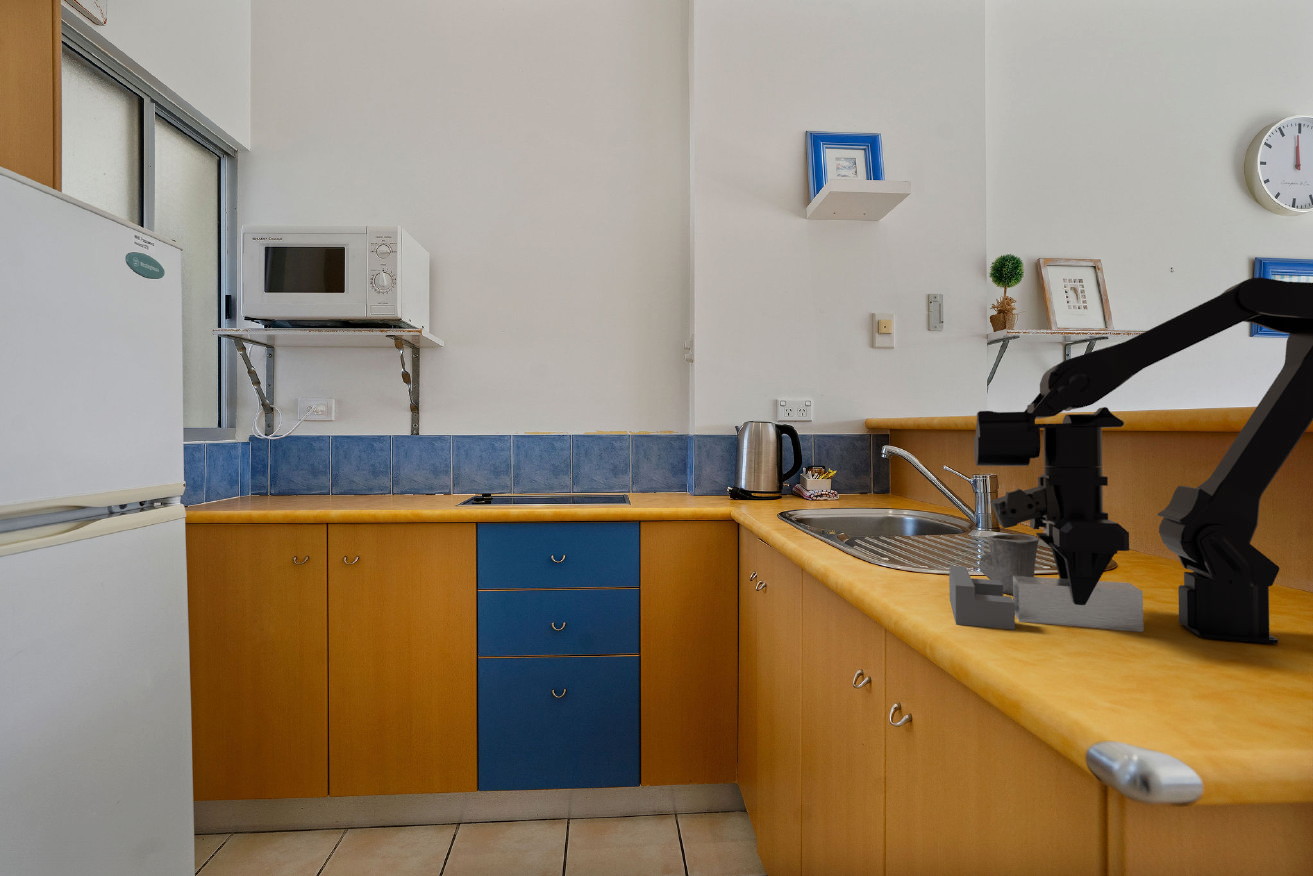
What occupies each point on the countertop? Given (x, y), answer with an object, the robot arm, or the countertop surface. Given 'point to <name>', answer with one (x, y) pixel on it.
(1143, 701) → the countertop surface
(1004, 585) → the grey tapered cup
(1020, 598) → the long gray post
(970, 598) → the grey u-shaped block
